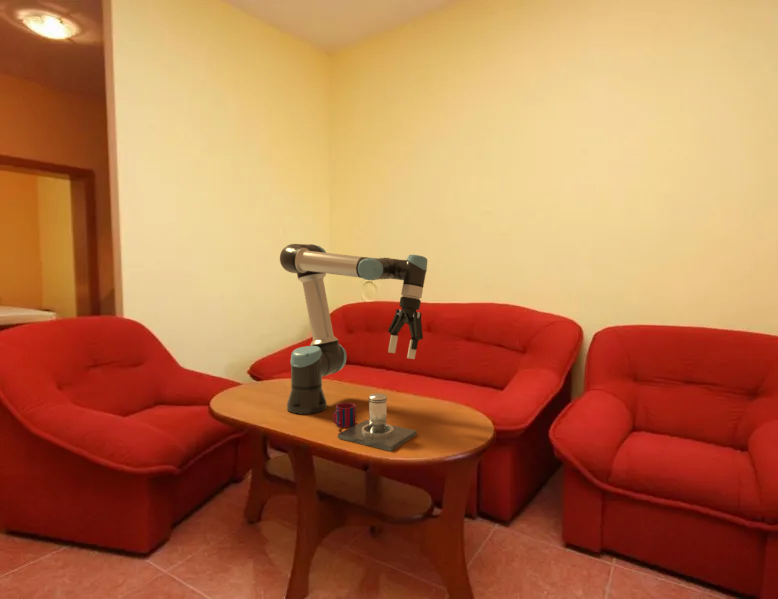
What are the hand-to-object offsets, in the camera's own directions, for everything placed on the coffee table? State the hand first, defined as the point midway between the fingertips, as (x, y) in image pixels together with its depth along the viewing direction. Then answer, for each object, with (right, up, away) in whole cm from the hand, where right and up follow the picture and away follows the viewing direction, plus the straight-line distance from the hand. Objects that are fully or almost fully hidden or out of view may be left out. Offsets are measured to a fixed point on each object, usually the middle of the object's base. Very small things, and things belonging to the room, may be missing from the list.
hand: (400, 355), depth 170 cm
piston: (-8, -23, -18) cm, 30 cm away
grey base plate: (-8, -24, -18) cm, 31 cm away
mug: (-20, -24, -7) cm, 32 cm away
